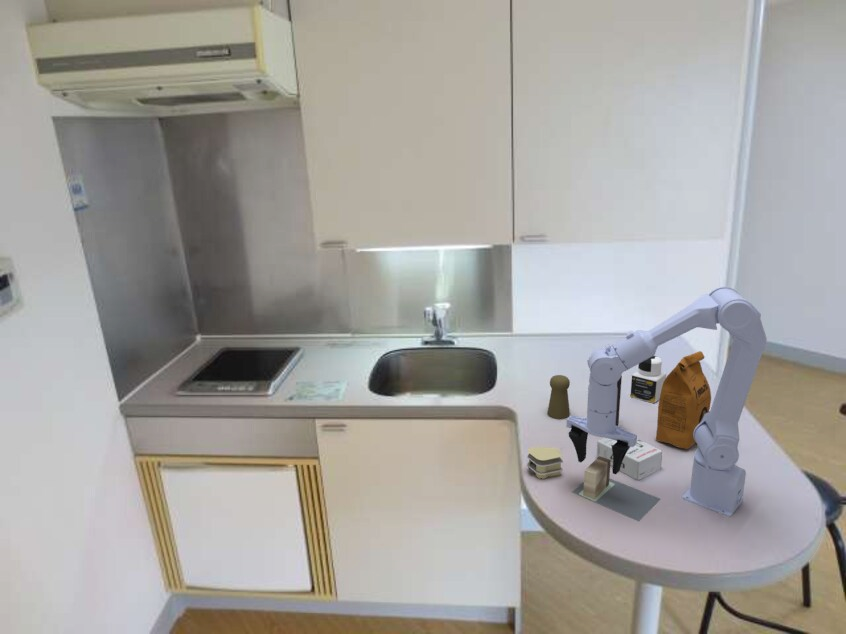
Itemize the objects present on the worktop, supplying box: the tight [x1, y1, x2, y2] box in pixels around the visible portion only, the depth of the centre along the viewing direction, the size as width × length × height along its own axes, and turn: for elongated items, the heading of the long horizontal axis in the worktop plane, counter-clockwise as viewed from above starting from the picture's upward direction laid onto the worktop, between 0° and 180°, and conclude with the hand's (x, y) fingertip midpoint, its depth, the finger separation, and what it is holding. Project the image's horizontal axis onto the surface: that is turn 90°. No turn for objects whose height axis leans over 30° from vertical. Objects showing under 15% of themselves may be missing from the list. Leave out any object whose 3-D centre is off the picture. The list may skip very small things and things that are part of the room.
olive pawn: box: [546, 374, 571, 420], centre depth 160 cm, size 6×6×11 cm
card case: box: [583, 456, 611, 499], centre depth 126 cm, size 7×3×6 cm, turn 139°
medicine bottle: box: [630, 355, 667, 404], centre depth 168 cm, size 7×7×12 cm
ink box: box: [595, 437, 663, 481], centre depth 136 cm, size 9×5×12 cm
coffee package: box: [655, 350, 712, 450], centre depth 143 cm, size 10×12×22 cm
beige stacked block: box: [526, 446, 564, 480], centre depth 133 cm, size 10×9×6 cm
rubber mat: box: [571, 477, 661, 522], centre depth 125 cm, size 15×10×1 cm, turn 45°
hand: (598, 466), depth 125 cm, fingers open, 7 cm apart
